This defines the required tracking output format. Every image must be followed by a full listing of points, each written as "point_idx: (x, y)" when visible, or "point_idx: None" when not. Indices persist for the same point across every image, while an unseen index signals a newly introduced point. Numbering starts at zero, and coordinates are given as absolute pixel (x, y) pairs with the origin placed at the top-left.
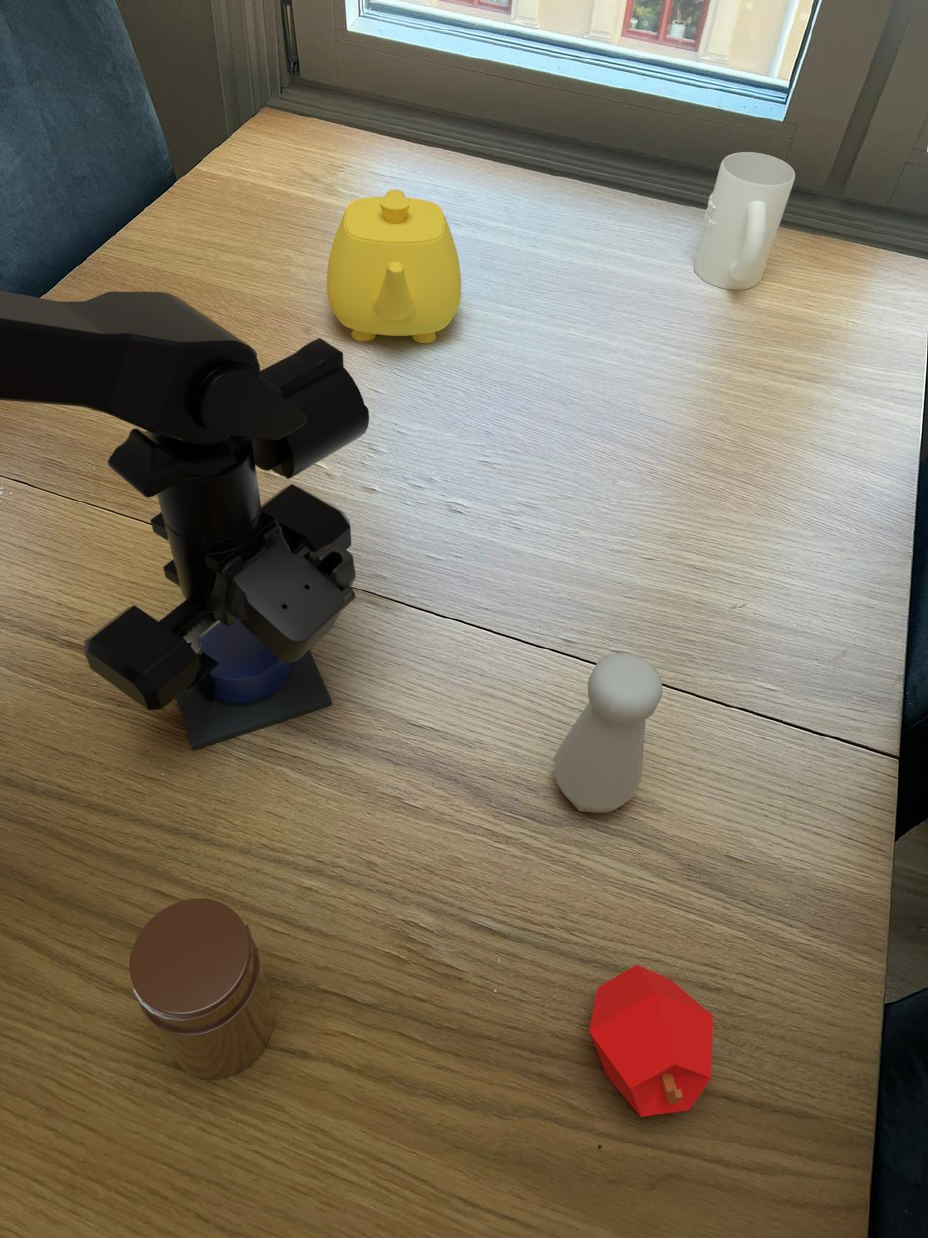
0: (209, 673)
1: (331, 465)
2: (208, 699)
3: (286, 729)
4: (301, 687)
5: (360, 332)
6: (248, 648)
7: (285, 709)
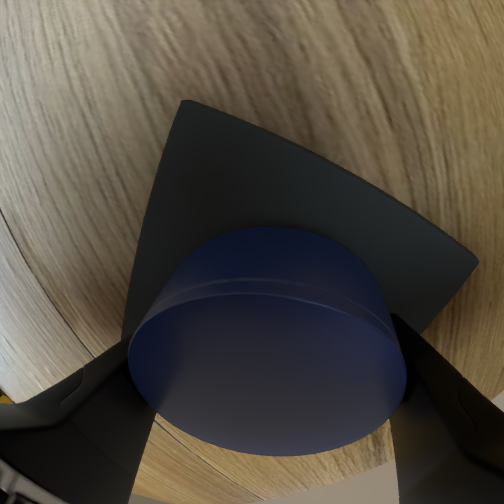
0: (444, 410)
1: (35, 381)
2: (403, 321)
3: (324, 129)
4: (211, 188)
5: (8, 403)
6: (263, 382)
7: (292, 167)
